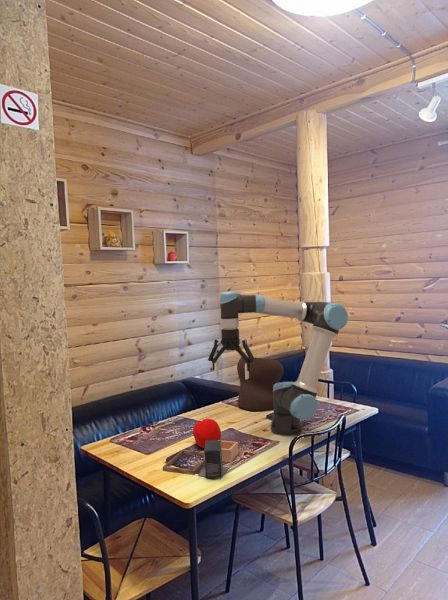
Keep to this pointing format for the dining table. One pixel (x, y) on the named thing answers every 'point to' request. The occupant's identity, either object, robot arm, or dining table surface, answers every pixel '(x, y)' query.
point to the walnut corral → (181, 470)
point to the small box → (213, 459)
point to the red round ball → (206, 431)
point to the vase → (258, 384)
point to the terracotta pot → (229, 450)
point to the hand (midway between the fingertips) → (231, 377)
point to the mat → (202, 474)
